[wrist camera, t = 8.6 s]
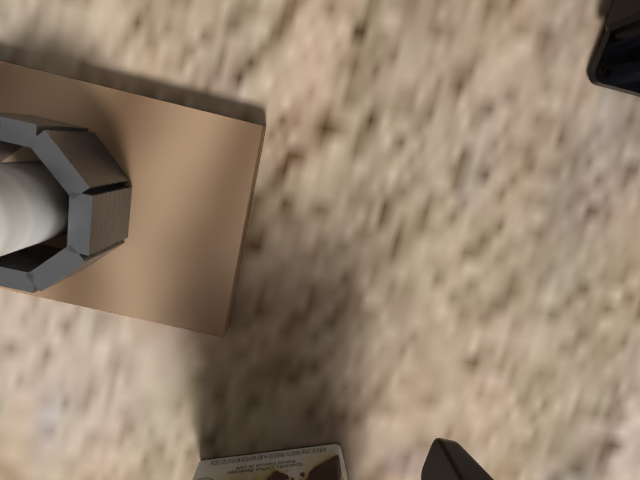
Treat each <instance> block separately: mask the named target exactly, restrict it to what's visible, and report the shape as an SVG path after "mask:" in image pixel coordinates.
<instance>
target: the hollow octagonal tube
mask: <svg viewBox="0 0 640 480" xmlns="http://www.w3.org/2000/svg"><path fill="white" fill-rule="evenodd" d="M22 146H26V147H30V148H32V150H33V151H34V152H35V153H36V155H37V156H38V157H39V158H40V160H41V161H42V162H43V163H44V165H45V166H46V167H47V168H48V170H49V171H50V172H51V173H52V175H53V176H54V177H55V178H56V179H57V181H58V182H59V183H60V184H61V186H62V187H63V188H64V189H65V191H66V192H67V193H68V194H69V214H68V237H67V247H66V248H64V249H62V248H57V247H52V246H48V245H43V244H39V243H38V244H35V245H32V246H29V247H26V248H23V249H20V250H17V251H14V252H11V253H8V254H6V255H3V256H0V286H2V287H7V288H11V289H16V290H21V291H26V292H30V293H35V292H37V291H38V290H39V291H40V292H42V291H44V290H45V289H47V288H49V287H51V286H53V285H55V284H57V283H59V282H61V281H63V280H65V279H67V278H69V277H71V276H72V275H74V274H76V273H78V272H80V271H82V270H84V269H86V268H88V267H89V266H91V265H92V264H94V263H95V262H97V261H98V260H100V259H101V258H103V257H104V256H106V255H107V254H109V253H110V252H112V251H113V250H115V249H116V248H118V247H119V246H121V245H122V244H124V243H125V242H124V241H123V239H126V238H128V231H129V220H130V208H131V197H132V187H130V186H126V185H124V184H125V183H127V182H128V181H130V179H129V178H128V176H127V175H126V174H125V172H124V171H123V170H122V168H121V167H120V166H119V164H118V163H117V162H116V160H115V159H114V158H113V156H112V155H111V154H110V152H109V151H108V150H107V148H106V147H105V146H104V144H103V143H102V142H101V140H100V139H99V138H98V136H97V135H96V134H95V133H93V132H88V128H85V127H81V126H76V125H72V124H68V123H64V122H59V121H55V120H51V119H46V118H42V117H38V116H33V115H25V114H15V113H5V112H0V162H3V161H4V160H5V159H7V158H8V157H9V156H11V155H12V154H13V153H14V152H16V151H17V150H18V149H20V148H21V147H22Z"/></svg>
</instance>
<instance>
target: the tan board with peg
mask: <svg viewBox="0 0 640 480" xmlns="http://www.w3.org/2000/svg"><path fill="white" fill-rule="evenodd" d="M0 112H5V113H15V114H25V115H33V116H38V117H42V118H46V119H51V120H55V121H59V122H64V123H68V124H72V125H76V126H81V127H85V128H88V132H93V133H95V134H96V135H97V136H98V138H99V139H100V140H101V142H102V143H103V144H104V146H105V147H106V148H107V150H108V151H109V152H110V154H111V155H112V156H113V158H114V159H115V160H116V162H117V163H118V164H119V166H120V167H121V168H122V170H123V171H124V172H125V174H126V175H127V176H128V178H129V179H130V181H128V182H127V183H125V184H124V185H126V186H130V187H132V197H131V208H130V220H129V231H128V238H126V239H123V241H124V242H125V243H124V244H122V245H121V246H119V247H118V248H116V249H115V250H113V251H112V252H110V253H109V254H107V255H106V256H104V257H103V258H101V259H100V260H98V261H97V262H95V263H94V264H92V265H91V266H89V267H88V268H86V269H84V270H82V271H80V272H78V273H76V274H74V275H72V276H71V277H69V278H67V279H65V280H63V281H61V282H59V283H57V284H55V285H53V286H51V287H49V288H47V289H45V290H44V291H42V292H40V291H39V290H38V291H37V292H35V293H30V292H26V291H21V290H16V289H11V288H7V287H2V286H0V288H1V289H6V290H10V291H15V292H19V293H24V294H29V295H33V296H38V297H42V298H47V299H51V300H56V301H60V302H65V303H70V304H74V305H79V306H83V307H88V308H92V309H97V310H101V311H106V312H111V313H115V314H120V315H124V316H129V317H133V318H138V319H142V320H147V321H152V322H156V323H161V324H165V325H170V326H174V327H179V328H184V329H188V330H193V331H197V332H202V333H206V334H211V335H215V336H220V337H223V336H224V334H225V332H226V331H227V329H228V325H229V320H230V315H231V309H232V304H233V299H234V294H235V288H236V283H237V278H238V272H239V267H240V262H241V257H242V251H243V246H244V241H245V236H246V230H247V225H248V220H249V215H250V209H251V204H252V199H253V193H254V188H255V183H256V178H257V172H258V167H259V162H260V157H261V151H262V146H263V141H264V136H265V130H266V127H265V126H262V125H258V124H254V123H250V122H246V121H241V120H237V119H233V118H229V117H225V116H221V115H217V114H213V113H209V112H205V111H201V110H197V109H193V108H189V107H185V106H181V105H177V104H173V103H169V102H165V101H161V100H157V99H153V98H149V97H145V96H141V95H137V94H133V93H129V92H124V91H120V90H116V89H112V88H108V87H104V86H100V85H96V84H92V83H88V82H84V81H80V80H76V79H72V78H68V77H64V76H60V75H56V74H52V73H48V72H44V71H40V70H36V69H32V68H28V67H24V66H20V65H16V64H11V63H7V62H3V61H0ZM68 214H69V194H68V193H67V192H66V191H65V189H64V188H63V187H62V186H61V184H60V183H59V182H58V181H57V179H56V178H55V177H54V176H53V175H52V173H51V172H50V171H49V170H48V168H47V167H46V166H45V165H44V163H43V162H42V161H41V160H40V158H39V157H38V156H37V155H36V153H35V152H34V151H33V150H32V148H30V147H26V146H22V147H21V148H20V149H18V150H17V151H16V152H14V153H13V154H12V155H11V156H9V157H8V158H7V159H5V160H4V161H3V162H0V256H3V255H6V254H8V253H11V252H14V251H17V250H20V249H23V248H26V247H29V246H32V245H35V244H38V243H39V244H43V245H48V246H52V247H57V248H62V249H64V248H66V247H67V237H68Z"/></svg>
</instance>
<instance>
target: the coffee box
mask: <svg viewBox="0 0 640 480" xmlns="http://www.w3.org/2000/svg"><path fill="white" fill-rule="evenodd" d="M193 480H348V479H347V473H346V468H345V463H344V459H343V454H342V450H341V447H340V445H337V444H330V445H322V446H315V447H307V448H299V449H291V450H282V451H274V452H267V453H259V454H250V455H242V456H234V457H225V458H217V459H209V460H202V461H200V462H199V465H198V467H197V470H196V472H195V475H194V477H193Z"/></svg>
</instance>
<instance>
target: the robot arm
mask: <svg viewBox="0 0 640 480" xmlns="http://www.w3.org/2000/svg"><path fill="white" fill-rule="evenodd" d="M602 68H605V70H606V74H605V76H604V77H602V76H601V70H602ZM589 80H590V81H591V83H593V84H595V85H598V86H601V87H605V88H609V89H613V90H617V91H620V92H624V93H628V94H632V95H635V96H639V97H640V0H615V2H614V4H613V7H612V9H611V12H610V14H609V17H608V19H607V22H606V31H605V33H604V36H603V38H602V41H601V43H600V46H599V48H598V51H597V53H596V56H595V58H594V61H593V63H592V66H591V68H590V71H589ZM421 480H494V479H493V478H492V477H491V476H490V475H489V474H488V473H487V472H486V471H485V470H484V469H483V468H482V467H481V466H480V465H479V464H478V463H477V462H476V461H475V460H474V459H473V458H472V457H471V456H470V455H469V454H468V453H467V452H466V451H465V450H464V449H463V448H462V447H461V446H460V445H459V444H458V443H457V442H455V441H452V440H447V439H442V438H436V439H435V440H434V441H433V443H432V445H431V448H430V450H429V453H428V456H427V458H426V461H425V463H424V466H423V469H422V474H421Z"/></svg>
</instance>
